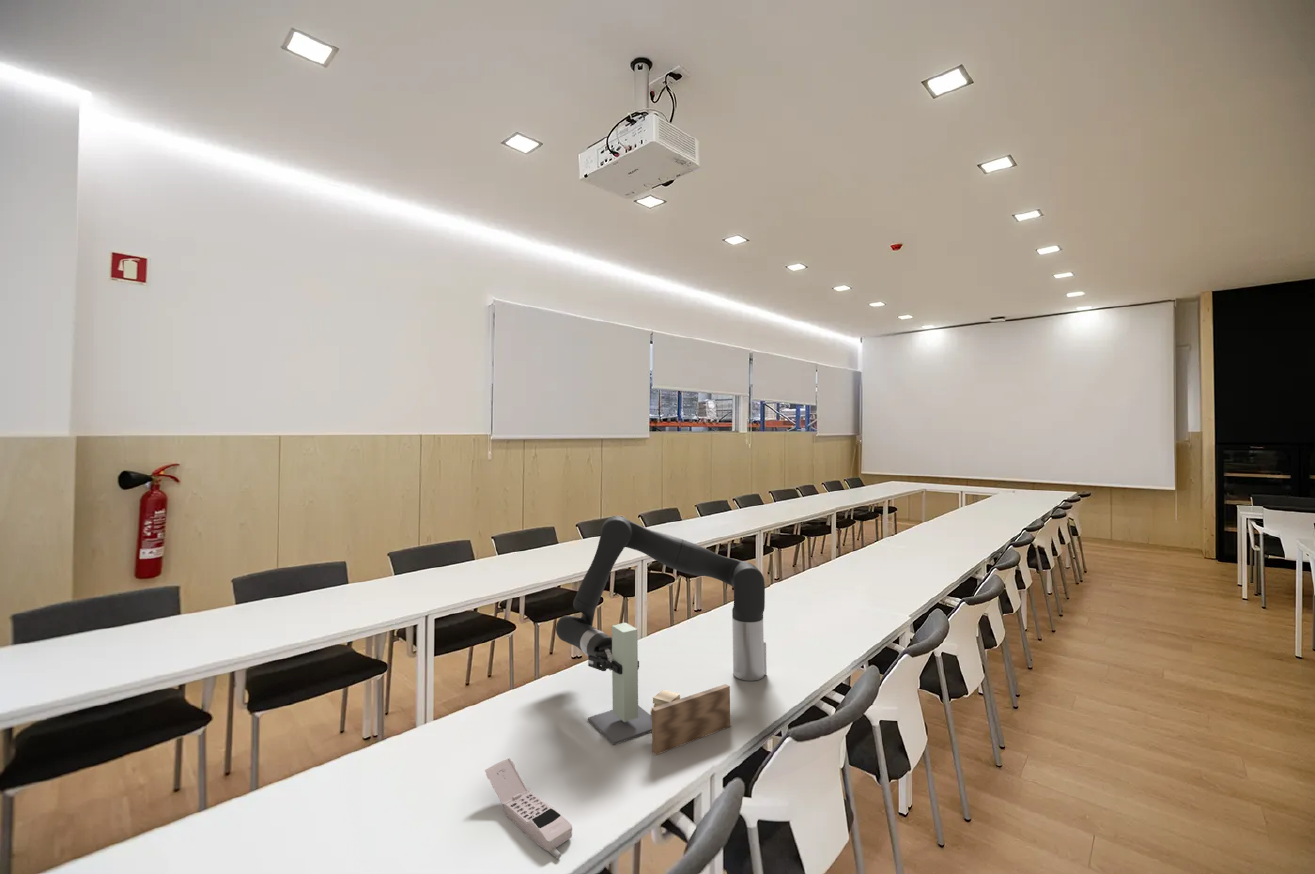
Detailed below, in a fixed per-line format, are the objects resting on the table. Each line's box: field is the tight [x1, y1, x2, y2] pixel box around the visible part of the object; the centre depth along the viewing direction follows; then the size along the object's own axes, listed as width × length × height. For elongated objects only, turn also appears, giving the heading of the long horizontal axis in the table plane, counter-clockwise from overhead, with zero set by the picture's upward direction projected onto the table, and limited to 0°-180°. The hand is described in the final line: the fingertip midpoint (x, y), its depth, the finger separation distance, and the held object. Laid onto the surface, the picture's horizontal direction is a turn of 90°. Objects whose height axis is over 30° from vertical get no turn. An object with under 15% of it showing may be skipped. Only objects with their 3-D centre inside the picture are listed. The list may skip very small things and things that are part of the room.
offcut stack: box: [650, 689, 681, 716], centre depth 145 cm, size 7×7×4 cm
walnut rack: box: [651, 683, 731, 756], centre depth 135 cm, size 22×8×10 cm, turn 123°
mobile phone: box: [484, 758, 573, 859], centre depth 105 cm, size 6×6×25 cm
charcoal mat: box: [587, 705, 652, 746], centre depth 140 cm, size 14×14×1 cm
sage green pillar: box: [611, 622, 639, 722], centre depth 139 cm, size 4×6×22 cm, turn 33°
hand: (629, 667), depth 137 cm, fingers closed on sage green pillar, 4 cm apart
